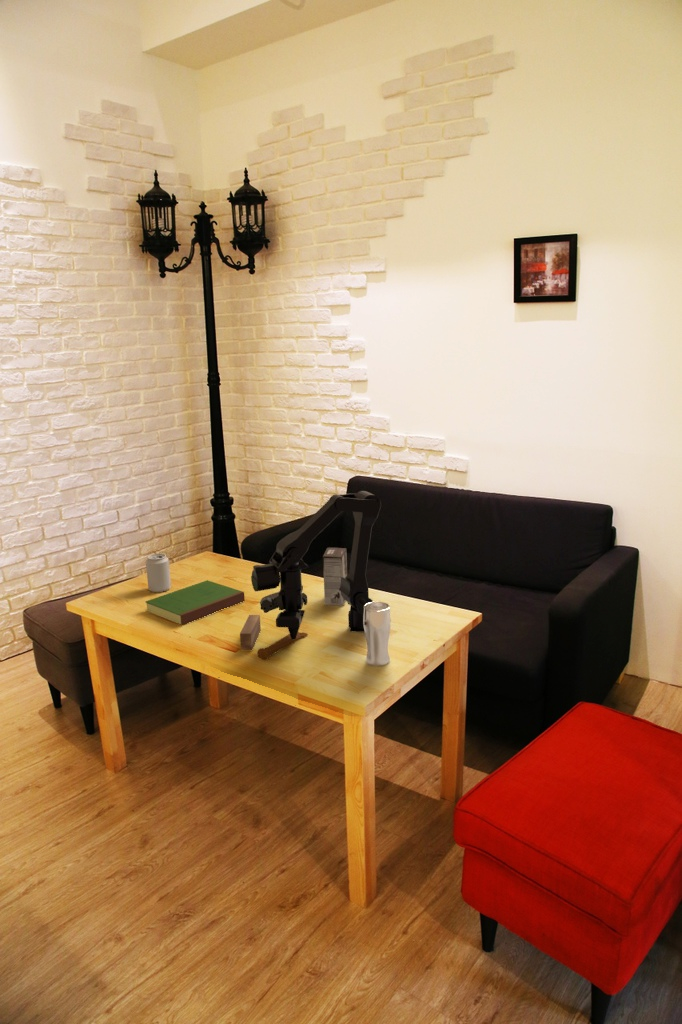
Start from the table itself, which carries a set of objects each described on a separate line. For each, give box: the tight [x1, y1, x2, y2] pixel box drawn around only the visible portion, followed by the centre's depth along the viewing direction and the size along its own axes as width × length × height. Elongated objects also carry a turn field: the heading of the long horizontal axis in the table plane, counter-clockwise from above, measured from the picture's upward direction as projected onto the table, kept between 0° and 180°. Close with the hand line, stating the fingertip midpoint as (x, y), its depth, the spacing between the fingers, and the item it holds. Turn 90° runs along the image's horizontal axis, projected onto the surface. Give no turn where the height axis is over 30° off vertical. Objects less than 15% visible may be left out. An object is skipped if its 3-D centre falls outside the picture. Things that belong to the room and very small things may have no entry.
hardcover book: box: [144, 579, 245, 626], centre depth 224 cm, size 25×19×4 cm
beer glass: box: [363, 601, 392, 667], centre depth 180 cm, size 7×7×15 cm
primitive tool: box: [257, 631, 309, 660], centre depth 193 cm, size 19×6×4 cm, turn 153°
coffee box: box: [322, 547, 348, 606], centre depth 223 cm, size 9×6×16 cm
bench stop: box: [239, 614, 262, 651], centre depth 196 cm, size 3×13×5 cm, turn 176°
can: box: [145, 553, 172, 593], centre depth 239 cm, size 8×8×12 cm
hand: (293, 638), depth 195 cm, fingers closed, pressing on primitive tool
